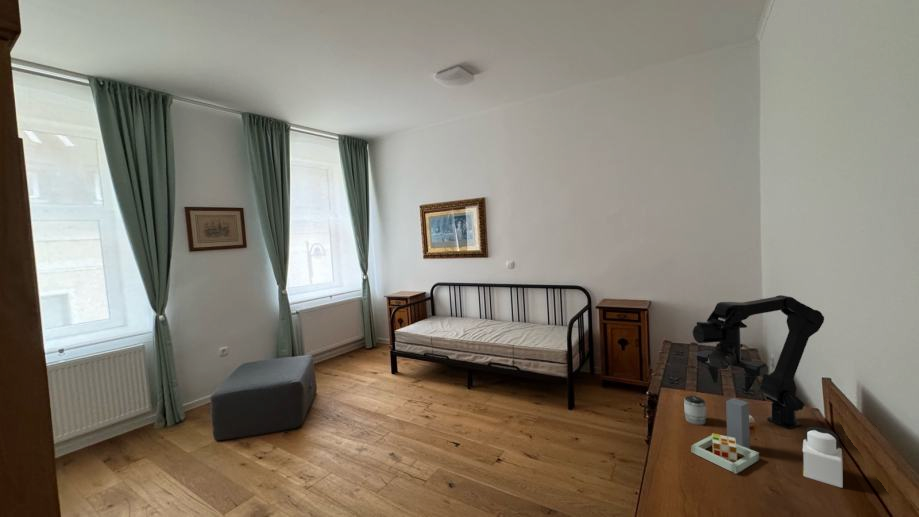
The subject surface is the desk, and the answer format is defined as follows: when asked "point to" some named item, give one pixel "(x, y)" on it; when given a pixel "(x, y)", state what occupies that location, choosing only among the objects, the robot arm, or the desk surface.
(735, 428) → the grey block with frame
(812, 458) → the medicine bottle
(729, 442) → the rubik's cube
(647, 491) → the desk surface
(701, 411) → the camera lens
